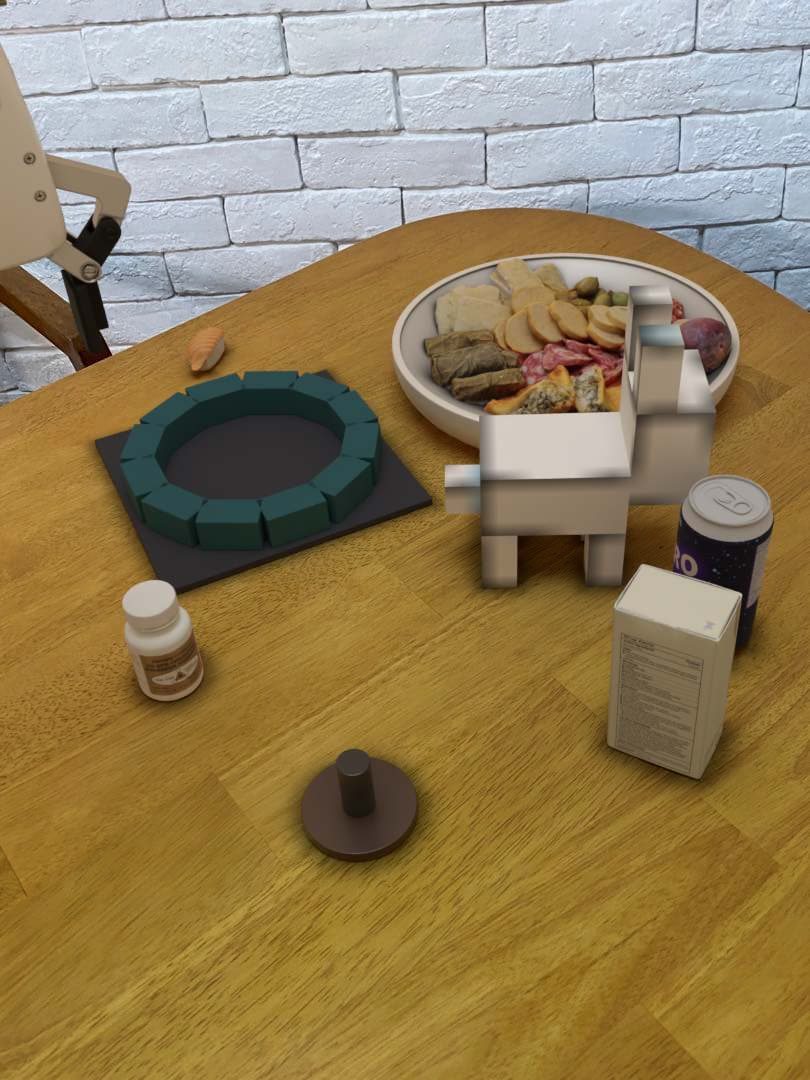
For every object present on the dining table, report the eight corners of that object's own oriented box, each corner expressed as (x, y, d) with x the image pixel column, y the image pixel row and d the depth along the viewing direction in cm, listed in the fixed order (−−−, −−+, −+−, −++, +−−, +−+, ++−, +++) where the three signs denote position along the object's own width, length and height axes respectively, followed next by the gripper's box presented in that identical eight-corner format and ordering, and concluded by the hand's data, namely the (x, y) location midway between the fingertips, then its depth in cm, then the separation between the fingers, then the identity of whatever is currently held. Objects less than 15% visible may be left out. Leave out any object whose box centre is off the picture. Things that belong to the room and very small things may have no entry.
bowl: (348, 453, 96) (338, 374, 90) (449, 284, 117) (446, 212, 112) (709, 508, 87) (722, 425, 82) (748, 315, 108) (760, 239, 103)
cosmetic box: (723, 733, 71) (750, 593, 63) (699, 783, 68) (725, 643, 60) (626, 697, 74) (641, 558, 66) (600, 744, 71) (612, 605, 63)
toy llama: (449, 522, 88) (438, 292, 75) (676, 517, 87) (706, 283, 74) (448, 588, 82) (436, 352, 69) (691, 584, 81) (726, 344, 68)
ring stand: (329, 880, 65) (319, 831, 62) (285, 791, 70) (274, 742, 66) (437, 831, 67) (434, 782, 64) (388, 748, 72) (382, 699, 68)
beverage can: (701, 593, 80) (722, 459, 73) (767, 636, 77) (796, 499, 69) (647, 632, 78) (663, 497, 70) (713, 678, 74) (737, 541, 67)
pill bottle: (160, 714, 75) (135, 632, 70) (128, 677, 78) (102, 596, 73) (216, 680, 77) (196, 598, 72) (183, 645, 80) (161, 564, 75)
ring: (172, 584, 84) (164, 556, 82) (102, 441, 98) (95, 414, 96) (422, 496, 90) (421, 468, 88) (322, 373, 104) (319, 347, 102)
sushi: (232, 345, 110) (227, 318, 108) (209, 381, 106) (204, 353, 104) (207, 343, 111) (201, 316, 109) (183, 378, 106) (177, 351, 104)
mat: (167, 598, 83) (165, 592, 83) (95, 445, 99) (94, 439, 98) (433, 504, 90) (432, 498, 89) (326, 374, 105) (326, 369, 105)
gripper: (64, -32, 53) (141, 295, 64) (-339, 40, 48) (-179, 381, 59) (104, 7, 48) (180, 355, 59) (-344, 92, 43) (-167, 455, 54)
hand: (0, 368), depth 59 cm, fingers open, 9 cm apart
